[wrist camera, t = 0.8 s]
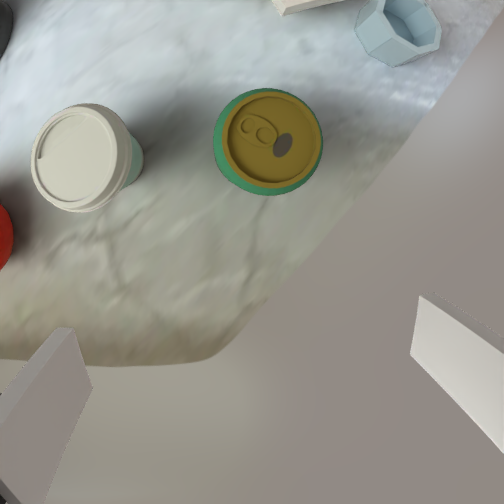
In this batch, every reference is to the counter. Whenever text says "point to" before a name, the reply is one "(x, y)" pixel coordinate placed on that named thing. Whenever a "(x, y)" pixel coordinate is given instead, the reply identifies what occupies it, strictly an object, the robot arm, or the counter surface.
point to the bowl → (398, 30)
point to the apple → (5, 236)
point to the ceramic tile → (298, 5)
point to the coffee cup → (84, 158)
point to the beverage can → (267, 142)
